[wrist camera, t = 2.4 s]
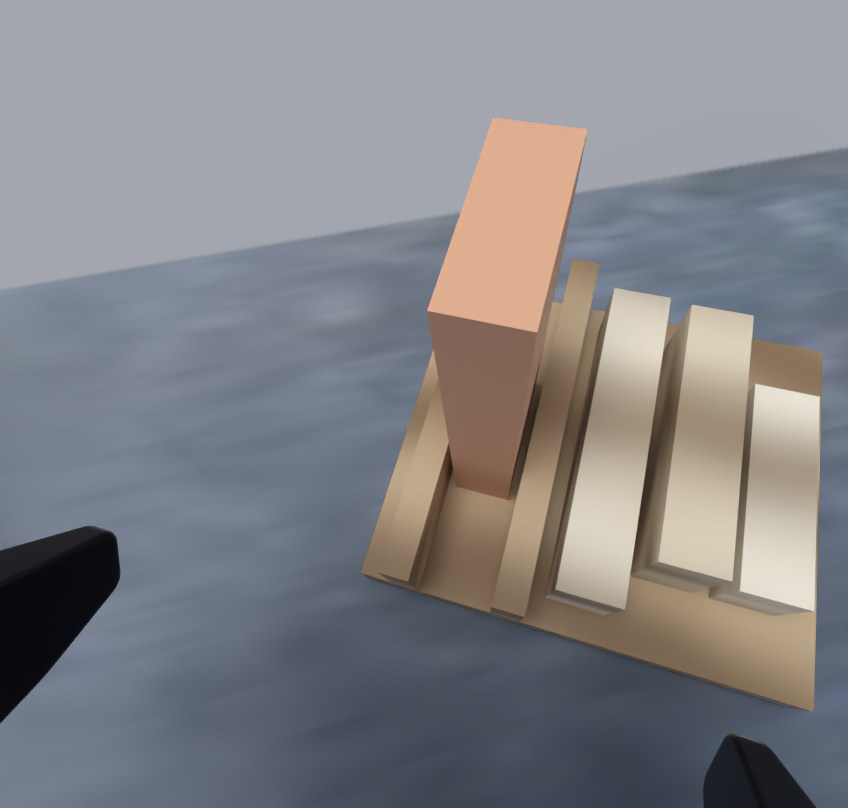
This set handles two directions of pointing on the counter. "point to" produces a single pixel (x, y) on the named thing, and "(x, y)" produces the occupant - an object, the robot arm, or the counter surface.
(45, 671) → the robot arm
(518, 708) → the counter surface
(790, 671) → the offcut rack
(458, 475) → the tall panel
